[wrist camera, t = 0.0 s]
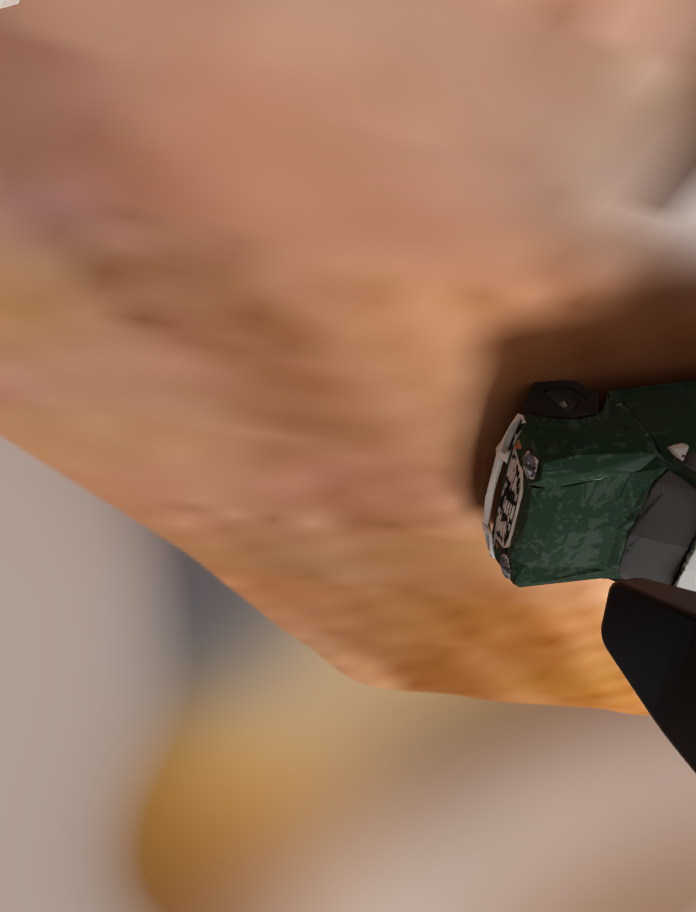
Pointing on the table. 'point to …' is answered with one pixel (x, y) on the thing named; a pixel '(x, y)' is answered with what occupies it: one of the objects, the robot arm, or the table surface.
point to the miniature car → (597, 486)
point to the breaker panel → (8, 3)
